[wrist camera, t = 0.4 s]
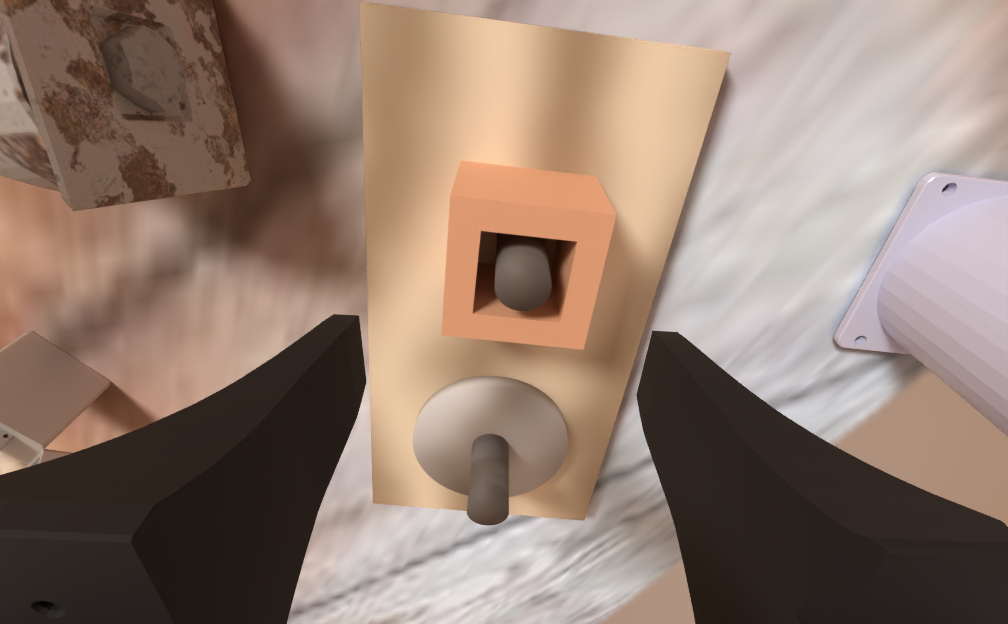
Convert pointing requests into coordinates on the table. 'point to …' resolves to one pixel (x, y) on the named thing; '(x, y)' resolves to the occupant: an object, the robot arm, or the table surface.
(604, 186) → the board
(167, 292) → the table surface
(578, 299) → the collar
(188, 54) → the caster wheel
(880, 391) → the table surface
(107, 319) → the table surface
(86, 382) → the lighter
